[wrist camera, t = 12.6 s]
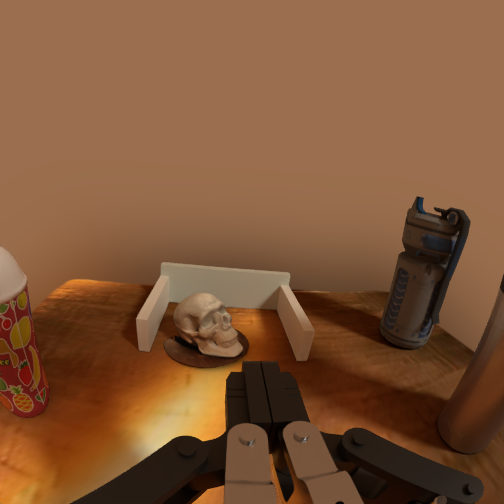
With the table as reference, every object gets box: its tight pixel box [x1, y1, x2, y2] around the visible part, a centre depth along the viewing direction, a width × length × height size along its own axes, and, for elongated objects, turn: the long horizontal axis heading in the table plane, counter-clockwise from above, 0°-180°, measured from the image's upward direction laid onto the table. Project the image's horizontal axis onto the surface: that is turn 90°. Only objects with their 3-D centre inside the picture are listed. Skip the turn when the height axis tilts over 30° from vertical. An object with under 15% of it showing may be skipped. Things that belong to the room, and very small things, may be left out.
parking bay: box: [136, 262, 315, 361], centre depth 42 cm, size 23×18×7 cm
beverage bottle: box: [380, 197, 470, 349], centre depth 39 cm, size 10×13×25 cm
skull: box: [164, 293, 249, 368], centre depth 37 cm, size 12×10×10 cm
